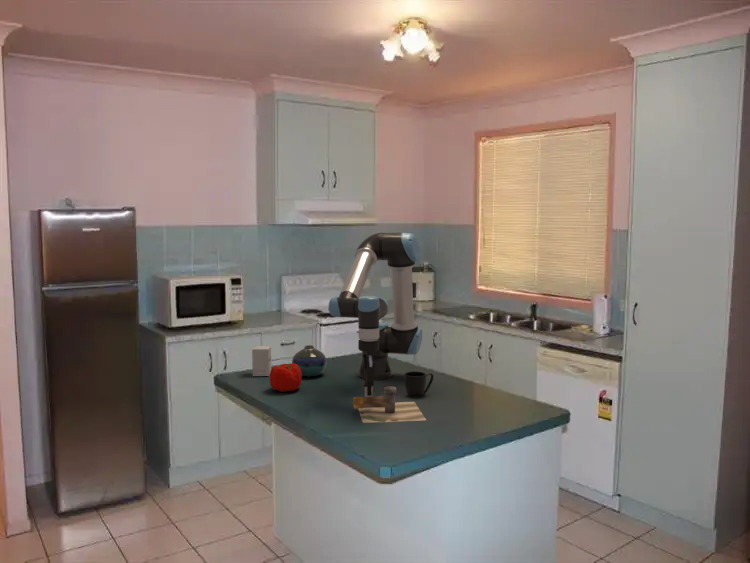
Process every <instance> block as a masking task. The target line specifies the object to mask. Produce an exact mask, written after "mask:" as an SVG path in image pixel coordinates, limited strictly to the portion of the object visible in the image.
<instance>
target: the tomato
mask: <svg viewBox="0 0 750 563" xmlns="http://www.w3.org/2000/svg"><path fill="white" fill-rule="evenodd" d="M269 385H270V387H271V389H272V390H274V391H276V390H278V391H277V392H281V393H286V392H294V391H296V390H298V388H300V386H302V376H301V369H300V368H299V367H298V365H297V364H294V363H292V362H291V363H282V364H280V365H279V366H278V365H275V366H272V367H271V372H270V375H269Z"/></svg>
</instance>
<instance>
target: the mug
mask: <svg viewBox="0 0 750 563" xmlns="http://www.w3.org/2000/svg"><path fill="white" fill-rule="evenodd" d="M427 376H430V380H429V382H428V384H427V385H426V383H427ZM433 381H434V374H433V373H425V372H422V371H408V372H405V373H404V384H405V385H404V386H405V390H406V395H407V396H408V397H413V398H420V397H423V396H425V395H426V393H427V392H428V390H429V388H430V387H431V386H432V383H433Z"/></svg>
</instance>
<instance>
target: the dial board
mask: <svg viewBox="0 0 750 563" xmlns="http://www.w3.org/2000/svg"><path fill="white" fill-rule="evenodd" d="M357 410H358V413H359V416H360V419H361V422H362V423H363V424H373V423H375V424H376V423H396V422H397V423H399V422H416V421H417V422H420V421H424V422H425V421H427V418H426V417H425V415H424V414H423V413H422V411H421V410H420V408H419V406H418V405H417V404H416V402H415V401H402V402H400V401H399V402H398V401H397V402H396V401H395V412H391V413H389V412H385V407H373V408H357Z"/></svg>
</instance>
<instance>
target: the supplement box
mask: <svg viewBox="0 0 750 563" xmlns="http://www.w3.org/2000/svg"><path fill="white" fill-rule="evenodd" d="M251 351H252V352H251V353H252V354H251V355H252V356H251V358H252V359H251V360H252V377H253V376H269V377H270V375H269V374H270V372H271V369H272V346H270V345H269V346H268V345H258V346H256V345H255V346H254V347H253V348H252V349H251Z"/></svg>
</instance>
